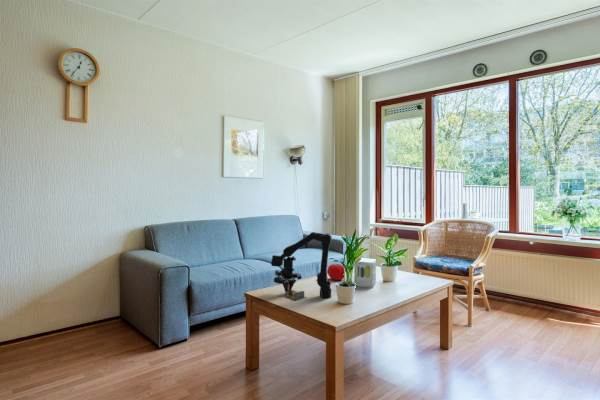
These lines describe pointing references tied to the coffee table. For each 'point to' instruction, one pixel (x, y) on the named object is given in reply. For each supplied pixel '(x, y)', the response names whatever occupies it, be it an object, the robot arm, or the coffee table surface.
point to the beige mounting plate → (297, 296)
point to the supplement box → (365, 272)
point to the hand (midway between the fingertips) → (287, 291)
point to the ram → (289, 291)
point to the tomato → (336, 272)
